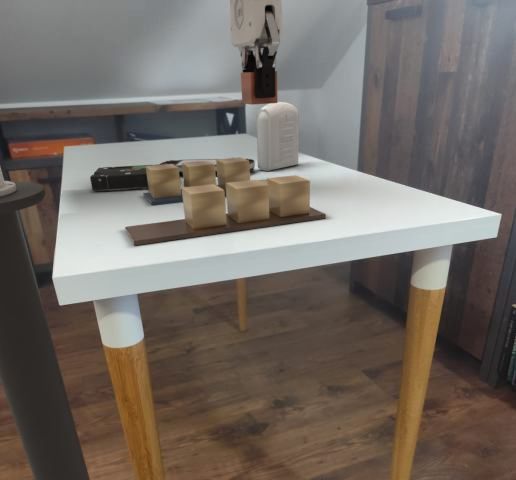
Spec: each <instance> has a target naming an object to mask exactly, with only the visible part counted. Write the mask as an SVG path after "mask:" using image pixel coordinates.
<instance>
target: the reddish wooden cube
mask: <svg viewBox="0 0 516 480" xmlns="http://www.w3.org/2000/svg"><path fill="white" fill-rule="evenodd" d="M240 82H241V83H240V85H241V87H240V88H241V103H242V104H243V105H268V104H270V103H277V102H278V71H277V70H275V90H276V95H275V97H273V98H256V97H255V75H254V72H244V73H243V72H240Z"/></svg>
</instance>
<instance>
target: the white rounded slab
mask: <svg viewBox="0 0 516 480" xmlns="http://www.w3.org/2000/svg"><path fill="white" fill-rule="evenodd" d="M299 122H300V115H299V110H298V108H297V107H296V106H295V105H293V104H292V103H289V102H285V101H277V103H270V104H265V105H264V106H262V107H261V108H260V109H259V110H258V112H257V114H256V148H257V149H256V151H257V154H256V155H257V157H256V158H257V168H258V169H259V170H260V171H266V172H267V171H268V172H269V171H270V172H271V171H274V170H278V169H282V168H287V167H291V166H296V165H298V163H299V139H300V138H299V137H300V135H299V134H300V131H299V130H300V126H299V124H300V123H299Z"/></svg>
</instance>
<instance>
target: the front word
mask: <svg viewBox="0 0 516 480" xmlns="http://www.w3.org/2000/svg"><path fill="white" fill-rule="evenodd" d="M266 179H267V184H265V183H263V182H260V181H258V180H259V179H250V180H247V181H238V182H229V183H226V196H225V191H224V190H223V189H221V188H220V187H218V186H216V185H217V184H216V185H215V184H211V185H202V186H193V187H184V186H183V187H181V189H182V195H183V201H182V203H183V213H184V218H182V219H175V220H165V221H161V222H160V221H159V222H151V223H145V224H137V225H136V224H135V225H130V226H129V225H128V226H124V230H125V233H126V234H127V236H128V238H129V239H130V241H131V243H132V244H133V246H134V247H135V246H141V245H142V246H143V245H150V244H157V243H162V242H169V241H170V242H171V241H177V240H184V239H191V238H198V237H205V236H212V235H219V234H227V233H233V232H240V231H247V230H253V229H262V228H268V227H274V226H281V225H289V224H295V223H303V222H310V221H317V220H323V219H326V216H327V214H326V213H325V212H322V211H320V210H318V209H315V208H313V207H311V205H310V204H311V180H310V179H308V178H304V177H302V176H299V175H297V174H294V175H293V174H292V175H285V176H276V177H275V176H274V177H268V178H266Z"/></svg>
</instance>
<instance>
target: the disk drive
mask: <svg viewBox="0 0 516 480" xmlns="http://www.w3.org/2000/svg"><path fill="white" fill-rule="evenodd" d="M153 165H154V164H141V165H123V166H122V165H121V166H103V167H98V168H97V169H96V170H95V171H94V172H93V174H91V175H90V176H89V179H90V184H91V189H92V191H96V192H100V191H103V192H104V191H105V192H106V191H127V190H135V189H142V190H143V189H145V190H146V189H148V190H149V187H148V180H147V173H146V166H153ZM156 165H164V164H160V163H158V164H156ZM173 165H175V164H173Z"/></svg>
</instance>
